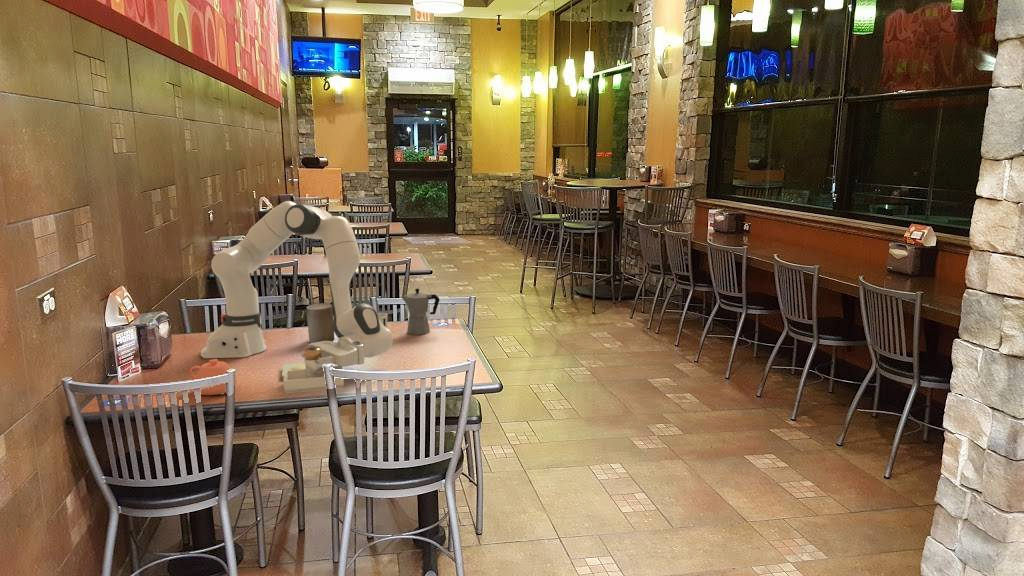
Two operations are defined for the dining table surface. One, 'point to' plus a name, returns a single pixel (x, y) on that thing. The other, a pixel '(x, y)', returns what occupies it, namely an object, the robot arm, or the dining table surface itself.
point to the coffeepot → (419, 311)
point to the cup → (383, 318)
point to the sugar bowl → (212, 370)
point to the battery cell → (312, 361)
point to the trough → (307, 381)
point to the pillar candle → (320, 322)
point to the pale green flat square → (292, 367)
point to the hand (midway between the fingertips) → (310, 358)
